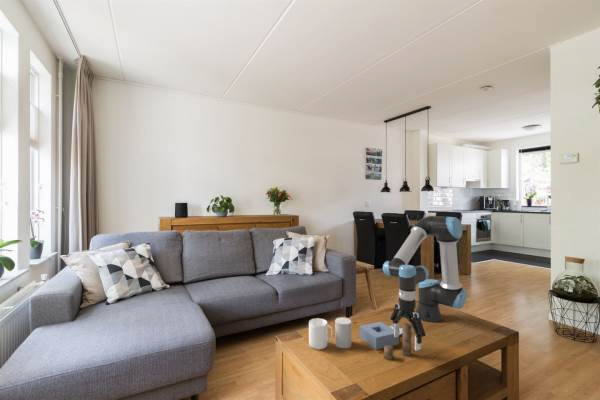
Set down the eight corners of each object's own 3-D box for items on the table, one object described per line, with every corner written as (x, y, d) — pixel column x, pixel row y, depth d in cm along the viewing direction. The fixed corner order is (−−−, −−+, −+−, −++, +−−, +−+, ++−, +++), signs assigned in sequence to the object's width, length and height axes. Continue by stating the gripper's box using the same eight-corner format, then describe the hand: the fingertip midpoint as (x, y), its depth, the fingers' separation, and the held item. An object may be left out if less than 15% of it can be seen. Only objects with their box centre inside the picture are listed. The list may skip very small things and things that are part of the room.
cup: (341, 338, 152) (341, 316, 151) (354, 344, 146) (354, 320, 146) (331, 344, 146) (332, 320, 146) (344, 350, 140) (344, 325, 140)
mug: (305, 342, 147) (305, 320, 147) (326, 338, 152) (326, 316, 152) (313, 351, 139) (313, 327, 138) (335, 347, 143) (335, 323, 143)
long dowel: (407, 351, 139) (407, 322, 139) (413, 355, 135) (413, 326, 135) (400, 353, 137) (400, 324, 137) (406, 357, 134) (406, 327, 134)
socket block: (380, 332, 159) (380, 321, 159) (398, 344, 146) (398, 332, 146) (359, 337, 153) (359, 325, 153) (376, 349, 140) (376, 337, 140)
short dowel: (389, 354, 136) (389, 344, 136) (395, 359, 132) (395, 348, 132) (382, 356, 134) (382, 346, 134) (388, 361, 131) (388, 350, 131)
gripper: (383, 291, 146) (383, 332, 146) (421, 308, 123) (421, 357, 123) (395, 289, 149) (394, 330, 149) (434, 306, 126) (434, 354, 126)
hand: (406, 342), depth 136 cm, fingers open, 13 cm apart
